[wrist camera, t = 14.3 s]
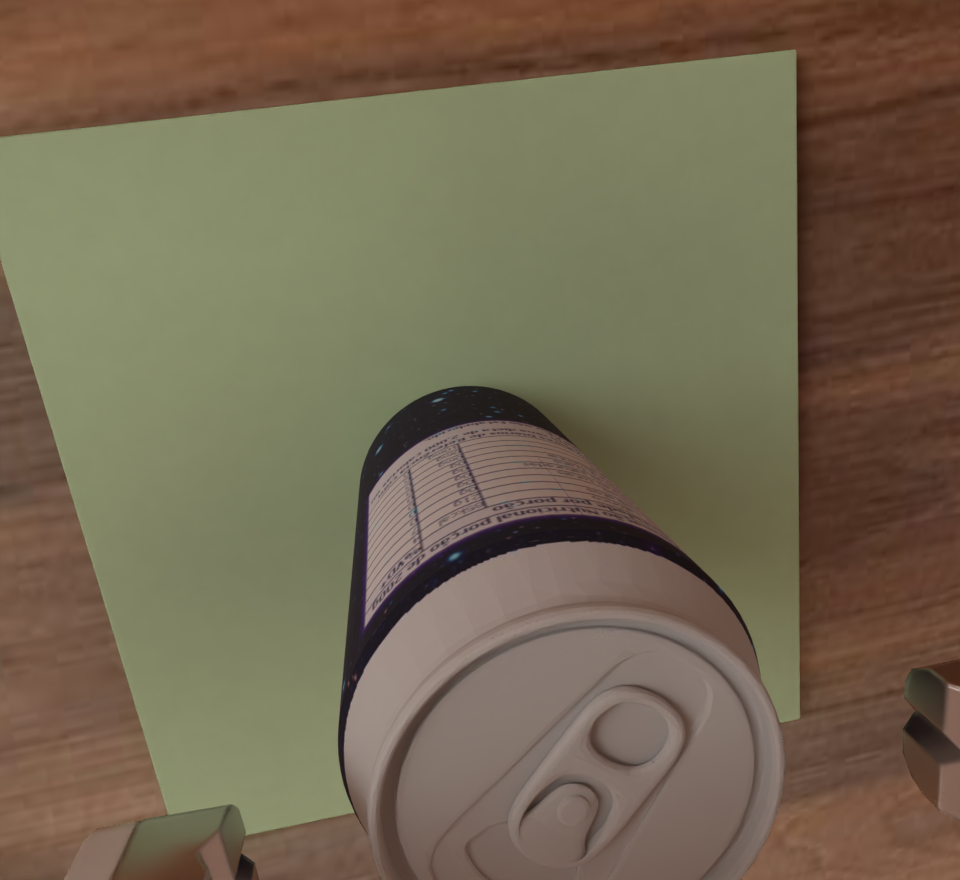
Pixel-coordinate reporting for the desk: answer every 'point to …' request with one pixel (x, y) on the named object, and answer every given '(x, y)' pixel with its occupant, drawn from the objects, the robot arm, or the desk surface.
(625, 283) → the mat
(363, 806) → the beverage can
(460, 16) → the desk surface
